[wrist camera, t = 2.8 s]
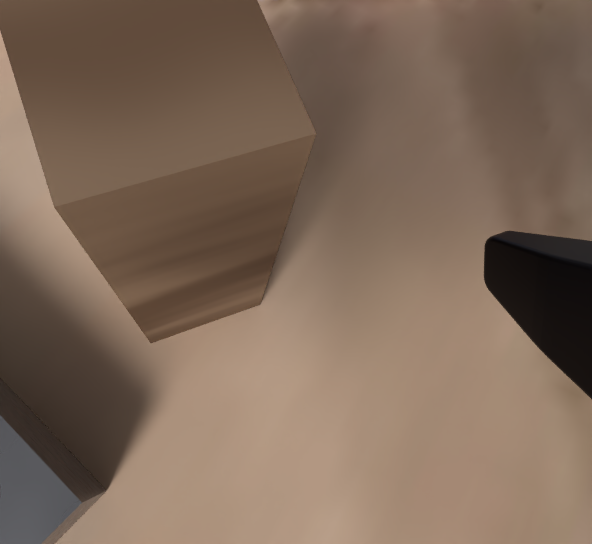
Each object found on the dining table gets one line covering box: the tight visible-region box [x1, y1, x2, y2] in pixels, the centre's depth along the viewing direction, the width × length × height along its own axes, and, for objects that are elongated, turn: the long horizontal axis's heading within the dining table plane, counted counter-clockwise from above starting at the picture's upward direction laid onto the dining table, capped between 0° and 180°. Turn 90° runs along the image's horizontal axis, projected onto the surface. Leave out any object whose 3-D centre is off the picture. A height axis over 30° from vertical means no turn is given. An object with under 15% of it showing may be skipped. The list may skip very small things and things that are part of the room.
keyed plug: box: [0, 0, 317, 343], centre depth 15 cm, size 6×4×12 cm
